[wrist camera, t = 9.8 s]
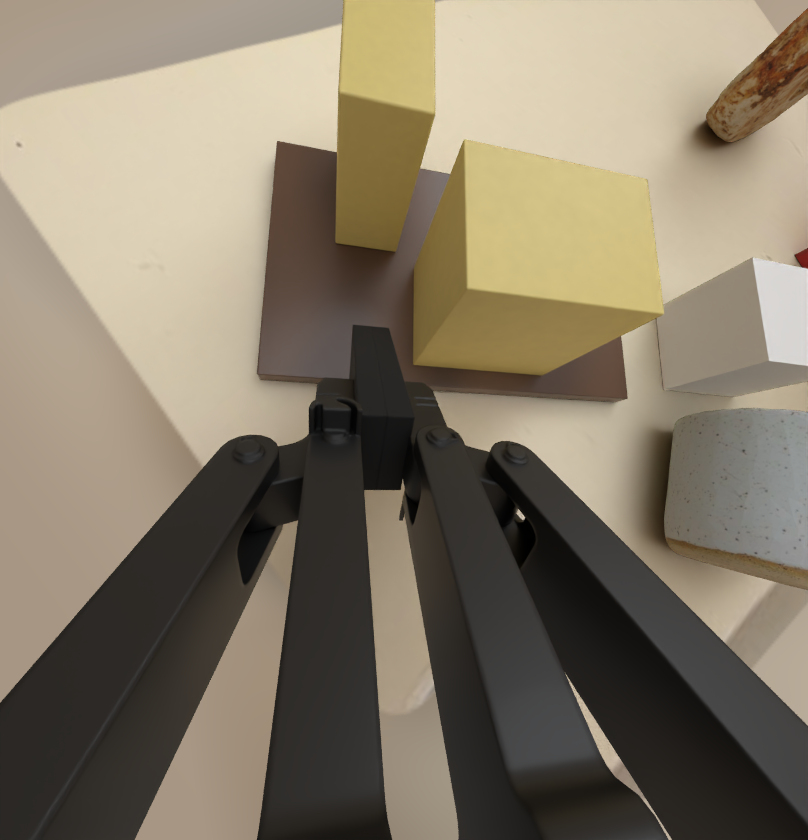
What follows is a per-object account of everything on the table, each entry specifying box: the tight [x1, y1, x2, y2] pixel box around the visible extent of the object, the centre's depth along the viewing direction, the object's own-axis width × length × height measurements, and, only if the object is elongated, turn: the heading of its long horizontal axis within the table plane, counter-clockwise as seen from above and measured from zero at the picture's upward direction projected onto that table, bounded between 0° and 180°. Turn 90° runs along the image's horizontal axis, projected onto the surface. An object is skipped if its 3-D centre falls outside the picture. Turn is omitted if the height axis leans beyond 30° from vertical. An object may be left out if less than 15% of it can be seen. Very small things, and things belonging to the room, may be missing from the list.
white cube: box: [656, 257, 808, 397], centre depth 22 cm, size 6×6×6 cm
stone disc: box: [706, 9, 808, 142], centre depth 25 cm, size 10×4×10 cm, turn 121°
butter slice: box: [335, 0, 435, 252], centre depth 17 cm, size 4×6×8 cm, turn 179°
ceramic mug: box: [664, 408, 808, 590], centre depth 19 cm, size 11×8×8 cm
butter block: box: [413, 139, 664, 375], centre depth 17 cm, size 8×6×8 cm
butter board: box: [257, 141, 628, 402], centre depth 22 cm, size 22×14×1 cm, turn 89°
